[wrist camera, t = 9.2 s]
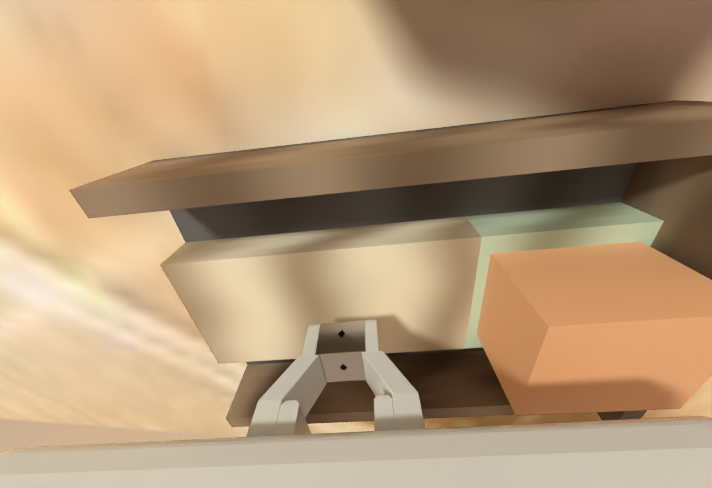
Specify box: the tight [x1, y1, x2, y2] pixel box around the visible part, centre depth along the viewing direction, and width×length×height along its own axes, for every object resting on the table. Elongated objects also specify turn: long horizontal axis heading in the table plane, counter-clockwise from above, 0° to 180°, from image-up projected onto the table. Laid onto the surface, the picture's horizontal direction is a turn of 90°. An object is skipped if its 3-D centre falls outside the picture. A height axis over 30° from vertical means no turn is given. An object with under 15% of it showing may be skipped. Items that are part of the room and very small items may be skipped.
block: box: [477, 241, 712, 416], centre depth 11 cm, size 6×5×4 cm
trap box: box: [69, 101, 712, 427], centre depth 13 cm, size 22×15×5 cm
